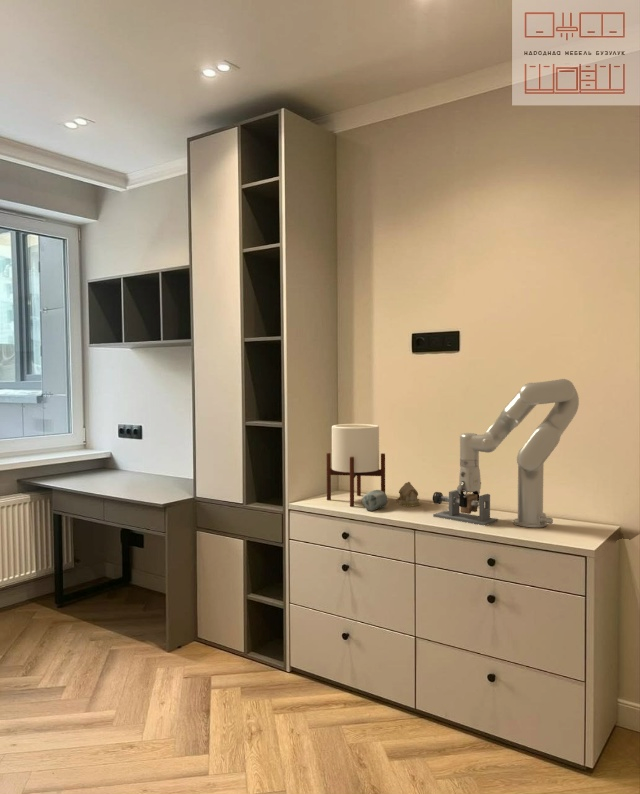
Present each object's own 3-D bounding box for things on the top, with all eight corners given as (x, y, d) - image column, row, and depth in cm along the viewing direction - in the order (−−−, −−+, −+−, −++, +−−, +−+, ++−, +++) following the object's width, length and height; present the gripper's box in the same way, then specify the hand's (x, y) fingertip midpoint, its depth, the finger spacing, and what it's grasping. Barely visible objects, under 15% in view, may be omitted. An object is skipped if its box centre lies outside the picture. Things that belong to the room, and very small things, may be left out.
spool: (376, 505, 267) (371, 484, 271) (360, 513, 272) (355, 492, 276) (395, 508, 276) (389, 487, 281) (378, 515, 282) (373, 495, 286)
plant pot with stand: (359, 494, 310) (359, 423, 309) (389, 501, 292) (388, 426, 291) (322, 499, 298) (322, 425, 296) (351, 507, 279) (350, 428, 278)
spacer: (477, 511, 255) (477, 494, 255) (469, 513, 250) (469, 496, 250) (468, 510, 258) (468, 493, 258) (460, 512, 253) (460, 495, 253)
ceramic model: (393, 501, 294) (393, 480, 294) (415, 500, 296) (415, 479, 296) (402, 507, 280) (402, 485, 280) (425, 506, 282) (425, 484, 282)
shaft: (481, 509, 253) (481, 497, 253) (474, 511, 250) (474, 498, 249) (439, 502, 267) (439, 491, 267) (432, 504, 263) (432, 492, 263)
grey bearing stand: (497, 521, 251) (497, 494, 251) (485, 525, 244) (485, 497, 243) (446, 512, 268) (446, 487, 267) (433, 516, 260) (433, 490, 260)
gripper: (466, 466, 245) (466, 509, 245) (488, 462, 257) (488, 503, 258) (450, 465, 250) (450, 507, 250) (471, 460, 262) (471, 500, 263)
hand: (469, 505), depth 254 cm, fingers open, 9 cm apart
